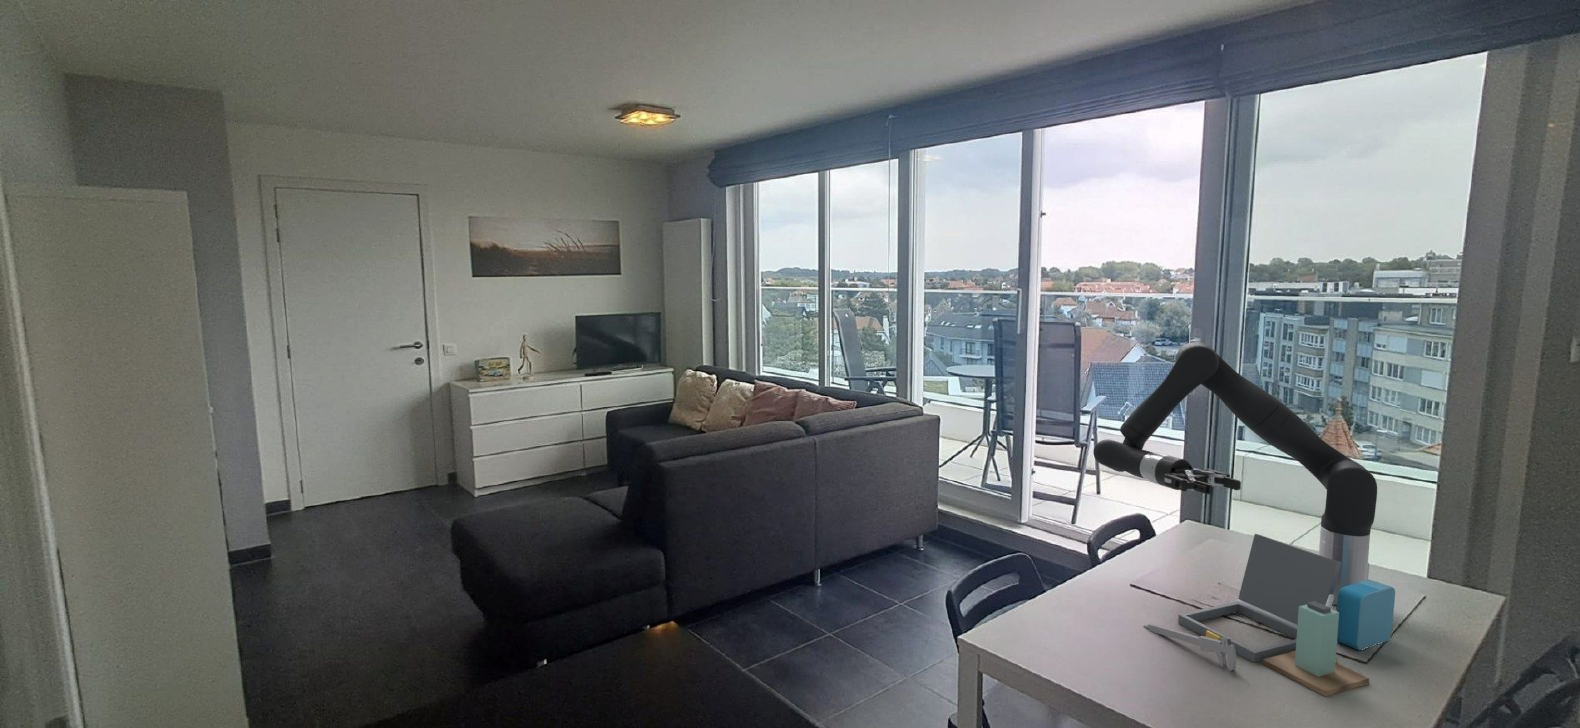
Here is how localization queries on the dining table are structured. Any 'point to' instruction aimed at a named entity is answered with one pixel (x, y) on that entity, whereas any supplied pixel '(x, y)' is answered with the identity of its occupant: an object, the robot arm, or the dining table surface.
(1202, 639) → the caliper
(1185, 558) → the dining table surface
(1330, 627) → the block
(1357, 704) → the dining table surface
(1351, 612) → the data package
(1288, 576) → the equipment case
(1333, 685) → the walnut board
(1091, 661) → the dining table surface
